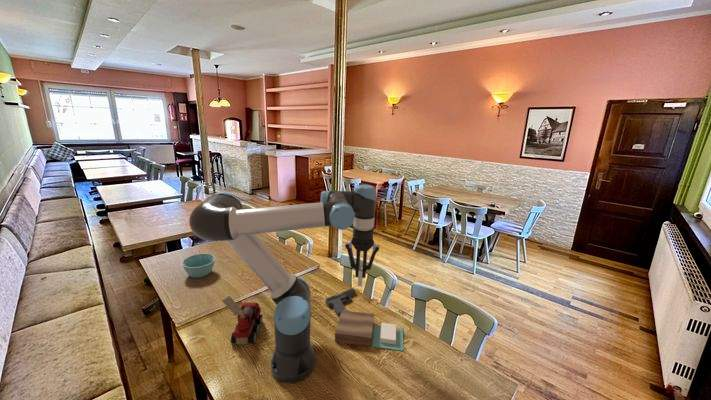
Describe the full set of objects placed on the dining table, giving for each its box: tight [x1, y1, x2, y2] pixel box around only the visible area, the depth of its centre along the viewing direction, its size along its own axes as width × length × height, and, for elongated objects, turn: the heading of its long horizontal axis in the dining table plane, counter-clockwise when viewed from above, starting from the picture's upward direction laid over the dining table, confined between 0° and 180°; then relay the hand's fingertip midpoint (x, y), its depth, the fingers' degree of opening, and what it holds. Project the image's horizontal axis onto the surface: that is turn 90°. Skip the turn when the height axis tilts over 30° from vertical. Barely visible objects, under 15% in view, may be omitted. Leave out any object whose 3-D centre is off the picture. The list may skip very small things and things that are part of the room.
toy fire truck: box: [221, 295, 264, 345], centre depth 111 cm, size 11×16×18 cm
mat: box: [371, 324, 405, 352], centre depth 114 cm, size 12×12×1 cm
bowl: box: [181, 252, 216, 279], centre depth 153 cm, size 16×16×8 cm
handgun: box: [324, 288, 357, 317], centre depth 135 cm, size 3×18×12 cm
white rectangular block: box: [380, 322, 397, 345], centre depth 115 cm, size 9×6×2 cm, turn 172°
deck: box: [334, 310, 375, 348], centre depth 116 cm, size 14×14×4 cm
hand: (359, 284), depth 111 cm, fingers closed
